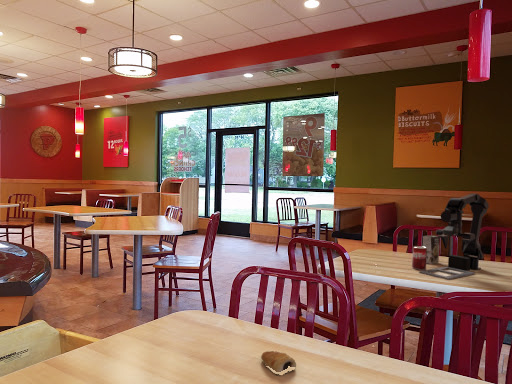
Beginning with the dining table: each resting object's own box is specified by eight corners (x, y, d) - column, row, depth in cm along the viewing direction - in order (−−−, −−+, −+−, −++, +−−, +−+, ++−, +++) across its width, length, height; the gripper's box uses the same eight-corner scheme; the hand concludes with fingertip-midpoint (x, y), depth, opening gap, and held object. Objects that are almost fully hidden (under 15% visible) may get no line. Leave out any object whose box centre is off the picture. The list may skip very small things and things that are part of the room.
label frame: (445, 267, 219) (445, 266, 219) (474, 274, 205) (474, 272, 205) (419, 272, 204) (419, 271, 204) (448, 279, 191) (448, 278, 191)
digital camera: (471, 270, 216) (471, 257, 216) (466, 271, 213) (467, 258, 213) (452, 266, 224) (453, 254, 224) (447, 267, 221) (448, 255, 221)
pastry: (254, 362, 97) (255, 347, 97) (274, 356, 101) (275, 342, 101) (278, 378, 90) (278, 362, 90) (299, 371, 94) (300, 355, 94)
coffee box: (431, 264, 227) (433, 237, 227) (421, 262, 232) (422, 235, 232) (439, 262, 233) (440, 236, 233) (428, 260, 238) (430, 234, 238)
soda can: (425, 270, 209) (426, 249, 208) (410, 268, 213) (411, 247, 212) (427, 268, 215) (428, 247, 215) (413, 266, 219) (414, 245, 218)
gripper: (431, 220, 210) (429, 248, 211) (465, 223, 195) (463, 254, 195) (442, 219, 217) (440, 247, 217) (476, 223, 201) (474, 252, 202)
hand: (454, 250), depth 208 cm, fingers open, 9 cm apart
